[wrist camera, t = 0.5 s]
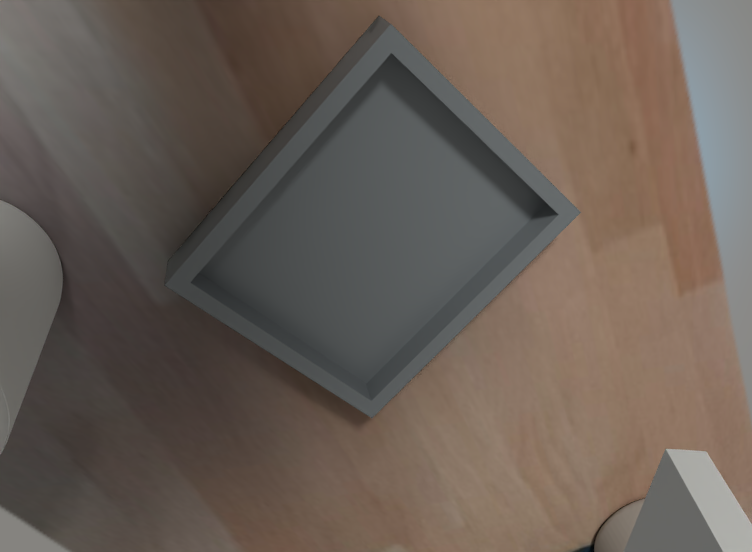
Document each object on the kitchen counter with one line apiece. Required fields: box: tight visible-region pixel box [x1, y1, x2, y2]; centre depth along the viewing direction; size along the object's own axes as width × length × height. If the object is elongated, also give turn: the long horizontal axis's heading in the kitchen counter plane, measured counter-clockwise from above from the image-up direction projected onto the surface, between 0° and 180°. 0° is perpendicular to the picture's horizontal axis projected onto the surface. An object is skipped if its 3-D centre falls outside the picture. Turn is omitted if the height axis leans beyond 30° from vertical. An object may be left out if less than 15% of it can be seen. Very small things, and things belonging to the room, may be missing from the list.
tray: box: [164, 16, 581, 418], centre depth 35 cm, size 15×13×2 cm
